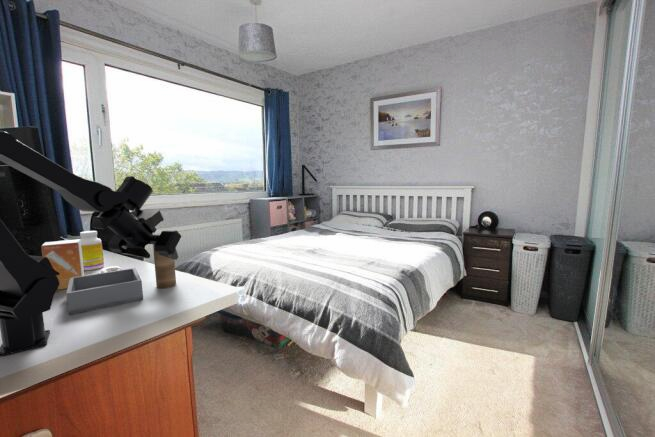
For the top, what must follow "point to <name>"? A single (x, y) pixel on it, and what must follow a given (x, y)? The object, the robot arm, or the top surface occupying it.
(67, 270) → the small box
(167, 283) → the brown cylinder
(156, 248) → the robot arm
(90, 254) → the supplement bottle
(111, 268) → the saw cookie cutter
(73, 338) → the top surface
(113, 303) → the grey tote
